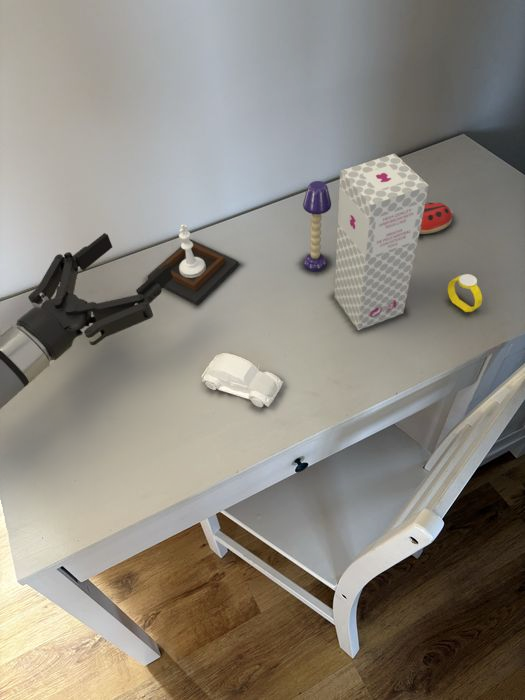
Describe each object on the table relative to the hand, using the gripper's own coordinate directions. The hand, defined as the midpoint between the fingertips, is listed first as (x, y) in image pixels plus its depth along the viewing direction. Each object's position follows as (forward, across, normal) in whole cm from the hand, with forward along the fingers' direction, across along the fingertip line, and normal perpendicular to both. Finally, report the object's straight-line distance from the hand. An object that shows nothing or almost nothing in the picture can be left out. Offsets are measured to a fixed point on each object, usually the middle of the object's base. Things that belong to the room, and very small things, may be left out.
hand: (138, 254), depth 85 cm
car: (-5, +23, -12) cm, 27 cm away
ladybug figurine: (+44, +30, -12) cm, 55 cm away
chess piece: (+10, 0, -11) cm, 15 cm away
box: (+20, +31, -12) cm, 39 cm away
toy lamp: (+24, +18, -12) cm, 33 cm away
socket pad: (+10, 0, -12) cm, 16 cm away
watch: (+28, +44, -12) cm, 54 cm away
